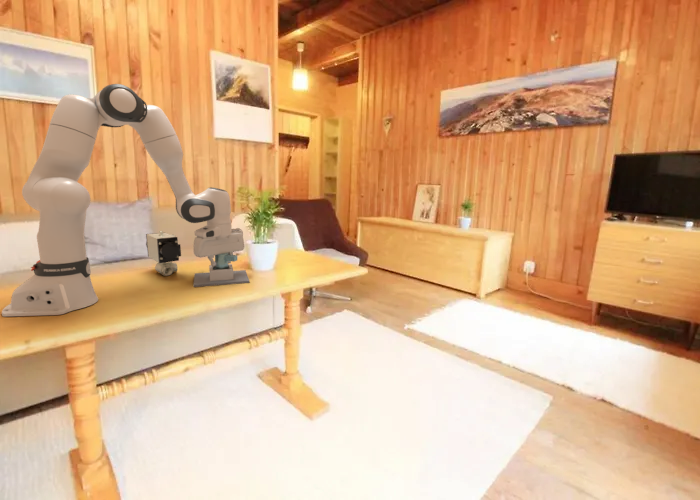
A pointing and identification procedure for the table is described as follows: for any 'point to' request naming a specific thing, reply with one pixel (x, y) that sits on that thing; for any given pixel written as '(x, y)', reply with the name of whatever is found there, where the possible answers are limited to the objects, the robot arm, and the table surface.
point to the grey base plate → (220, 277)
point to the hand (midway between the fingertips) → (221, 264)
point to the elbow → (224, 260)
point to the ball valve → (163, 251)
